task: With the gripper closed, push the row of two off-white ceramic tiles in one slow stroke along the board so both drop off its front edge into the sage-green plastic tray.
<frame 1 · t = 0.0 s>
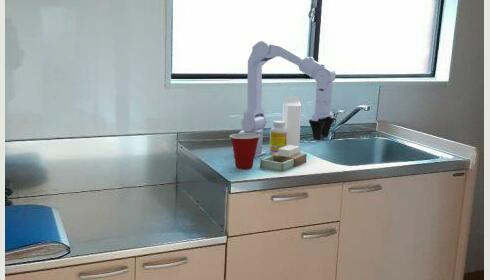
hand: (320, 138, 196), 10 cm above the counter, tool pointing down, fingers open, 7 cm apart
tile back: (291, 153, 203), point 3 cm above the counter, touching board
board: (288, 162, 201), on the counter
plastic cup: (243, 168, 190), on the counter
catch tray: (276, 166, 193), on the counter
tile front: (286, 155, 199), point 3 cm above the counter, touching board
supplement bottle: (277, 153, 215), on the counter
milk: (289, 150, 222), on the counter
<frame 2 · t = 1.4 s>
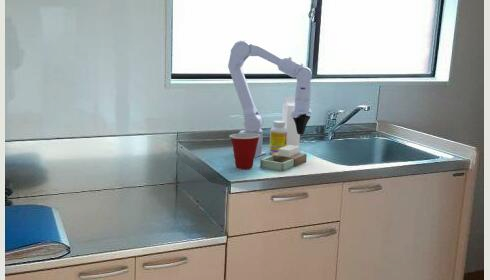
hand: (300, 134, 207), 9 cm above the counter, tool pointing down, fingers closed
nothing on the counter moved.
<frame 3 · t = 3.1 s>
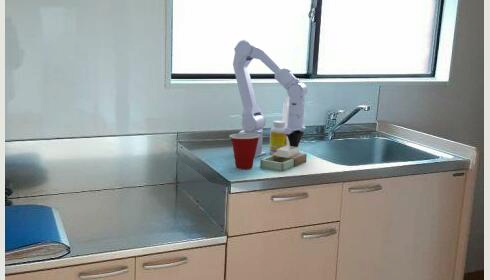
hand: (293, 150, 204), 4 cm above the counter, tool pointing down, fingers closed
tile back: (289, 153, 201), point 3 cm above the counter, touching gripper
tile front: (284, 155, 197), point 3 cm above the counter
everything else where it was.
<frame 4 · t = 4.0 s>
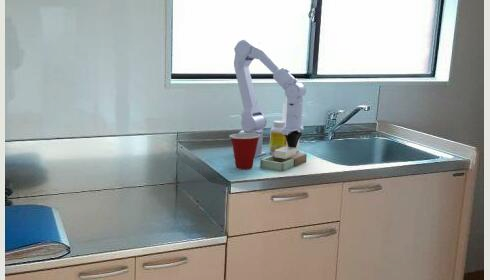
hand: (291, 151, 203), 4 cm above the counter, tool pointing down, fingers closed
tile back: (287, 154, 200), point 3 cm above the counter, touching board, gripper, tile front
tile front: (282, 156, 196), point 3 cm above the counter, touching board, tile back
everything else where it was.
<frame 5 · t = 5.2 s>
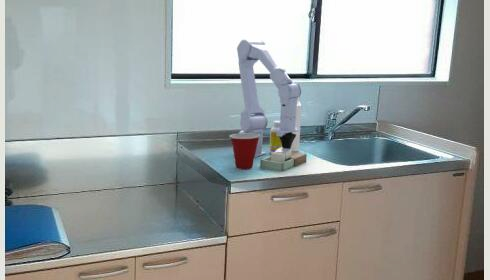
hand: (286, 153, 198), 4 cm above the counter, tool pointing down, fingers closed
tile back: (283, 156, 196), point 3 cm above the counter, tilted 8°, touching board, gripper
tile front: (279, 158, 194), point 3 cm above the counter, tilted 90°, touching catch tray
everything else where it was.
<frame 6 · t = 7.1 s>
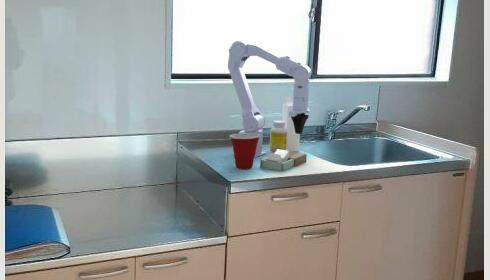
hand: (298, 133, 204), 10 cm above the counter, tool pointing down, fingers closed
tile back: (281, 159, 195), point 2 cm above the counter, tilted 26°, touching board, tile front
tile front: (276, 157, 191), point 4 cm above the counter, tilted 138°, touching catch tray, tile back
everything else where it was.
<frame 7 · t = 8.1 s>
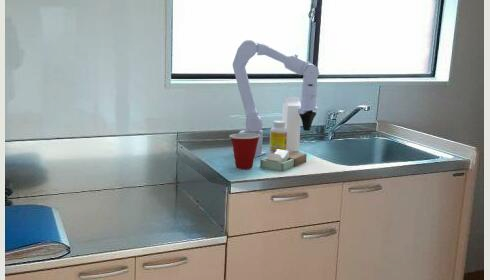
hand: (306, 130, 210), 10 cm above the counter, tool pointing down, fingers closed
nothing on the counter moved.
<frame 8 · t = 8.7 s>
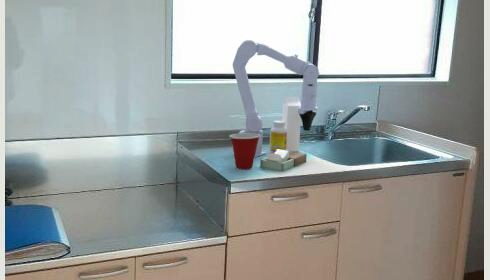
hand: (306, 130, 210), 10 cm above the counter, tool pointing down, fingers closed
nothing on the counter moved.
at the end: tile front inside the target area (0.6 cm from its centre), point 3.8 cm above the counter; tile back inside the target area (3.5 cm from its centre), point 2.3 cm above the counter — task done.
